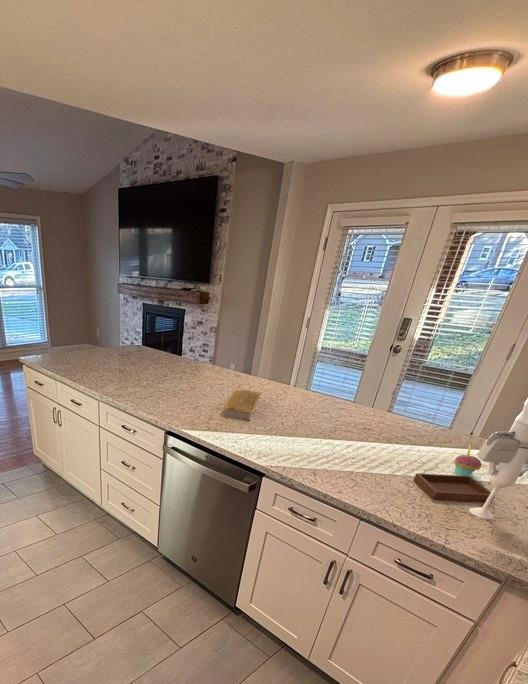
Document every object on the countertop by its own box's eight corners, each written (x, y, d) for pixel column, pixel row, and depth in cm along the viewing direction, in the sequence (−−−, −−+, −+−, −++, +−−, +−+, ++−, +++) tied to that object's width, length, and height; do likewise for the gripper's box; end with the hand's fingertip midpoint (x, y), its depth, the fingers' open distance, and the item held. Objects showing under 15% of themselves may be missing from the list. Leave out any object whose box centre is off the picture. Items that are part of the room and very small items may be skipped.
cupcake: (453, 476, 156) (469, 447, 149) (445, 466, 163) (460, 438, 156) (479, 480, 154) (495, 450, 148) (470, 469, 161) (485, 441, 155)
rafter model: (233, 395, 228) (235, 384, 224) (259, 399, 224) (262, 388, 221) (221, 416, 200) (223, 403, 197) (251, 421, 196) (253, 408, 193)
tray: (466, 483, 152) (470, 476, 150) (491, 502, 140) (495, 495, 139) (413, 480, 152) (416, 473, 150) (433, 499, 141) (436, 492, 139)
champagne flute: (495, 513, 135) (536, 445, 122) (492, 521, 131) (535, 452, 117) (471, 505, 138) (508, 439, 125) (467, 513, 134) (506, 445, 121)
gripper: (500, 435, 117) (476, 478, 124) (573, 439, 116) (545, 481, 124) (485, 426, 122) (463, 468, 129) (555, 430, 121) (529, 472, 129)
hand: (504, 475), depth 127 cm, fingers open, 6 cm apart
